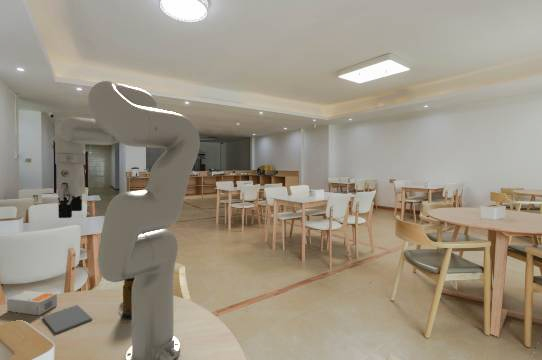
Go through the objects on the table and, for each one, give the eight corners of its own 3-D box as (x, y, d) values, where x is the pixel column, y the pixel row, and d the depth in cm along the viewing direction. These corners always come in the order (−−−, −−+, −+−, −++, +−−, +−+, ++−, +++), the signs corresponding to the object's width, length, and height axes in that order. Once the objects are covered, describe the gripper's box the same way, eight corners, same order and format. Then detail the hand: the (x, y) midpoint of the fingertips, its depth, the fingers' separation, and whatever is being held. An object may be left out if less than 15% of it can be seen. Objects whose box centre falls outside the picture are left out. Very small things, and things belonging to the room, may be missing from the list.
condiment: (142, 304, 94) (142, 269, 93) (150, 315, 88) (149, 278, 87) (118, 311, 90) (117, 274, 89) (124, 323, 83) (123, 284, 82)
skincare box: (39, 302, 86) (5, 299, 87) (40, 315, 86) (6, 312, 88) (57, 293, 92) (25, 290, 93) (57, 305, 92) (26, 302, 94)
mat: (92, 320, 84) (92, 318, 84) (55, 334, 77) (55, 332, 77) (77, 306, 92) (77, 304, 92) (42, 318, 85) (42, 316, 85)
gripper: (75, 161, 80) (75, 220, 81) (92, 159, 96) (92, 208, 98) (43, 160, 77) (44, 221, 79) (66, 158, 93) (66, 208, 95)
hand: (70, 214), depth 88 cm, fingers open, 9 cm apart
